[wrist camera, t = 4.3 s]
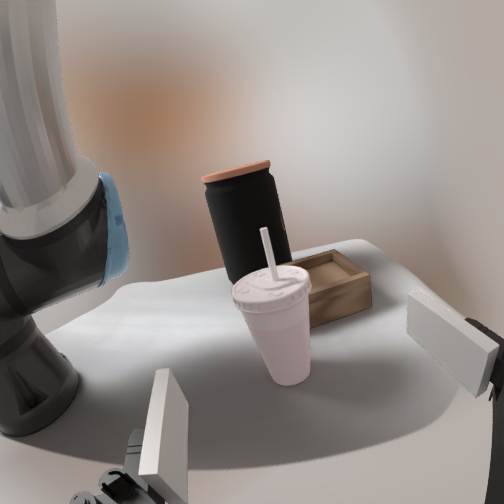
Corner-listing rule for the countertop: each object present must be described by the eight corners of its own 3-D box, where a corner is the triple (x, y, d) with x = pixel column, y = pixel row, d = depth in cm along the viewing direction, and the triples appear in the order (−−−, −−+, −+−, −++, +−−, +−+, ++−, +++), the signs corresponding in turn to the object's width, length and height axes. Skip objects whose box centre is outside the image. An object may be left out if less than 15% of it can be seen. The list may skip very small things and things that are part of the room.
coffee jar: (307, 272, 48) (283, 157, 42) (248, 299, 44) (215, 175, 38) (272, 259, 57) (249, 163, 51) (221, 280, 53) (192, 179, 47)
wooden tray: (288, 335, 33) (280, 302, 32) (270, 296, 43) (263, 269, 42) (372, 306, 34) (369, 274, 32) (338, 275, 44) (334, 249, 42)
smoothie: (312, 400, 23) (280, 241, 18) (245, 390, 26) (198, 248, 22) (332, 353, 28) (309, 212, 24) (273, 348, 31) (240, 221, 27)
